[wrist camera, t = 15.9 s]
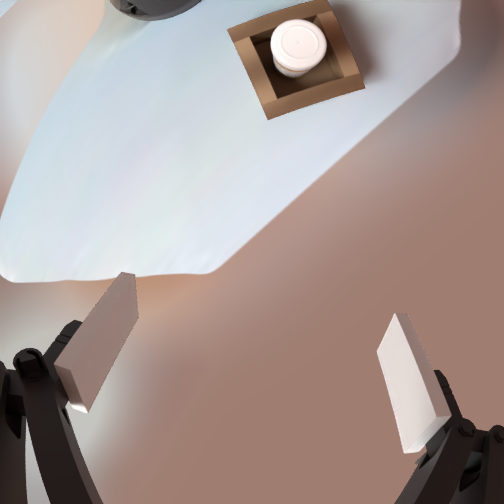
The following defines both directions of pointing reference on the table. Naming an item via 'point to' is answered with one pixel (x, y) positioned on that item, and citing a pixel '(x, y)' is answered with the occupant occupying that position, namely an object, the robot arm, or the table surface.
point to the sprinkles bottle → (297, 47)
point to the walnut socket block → (317, 78)
